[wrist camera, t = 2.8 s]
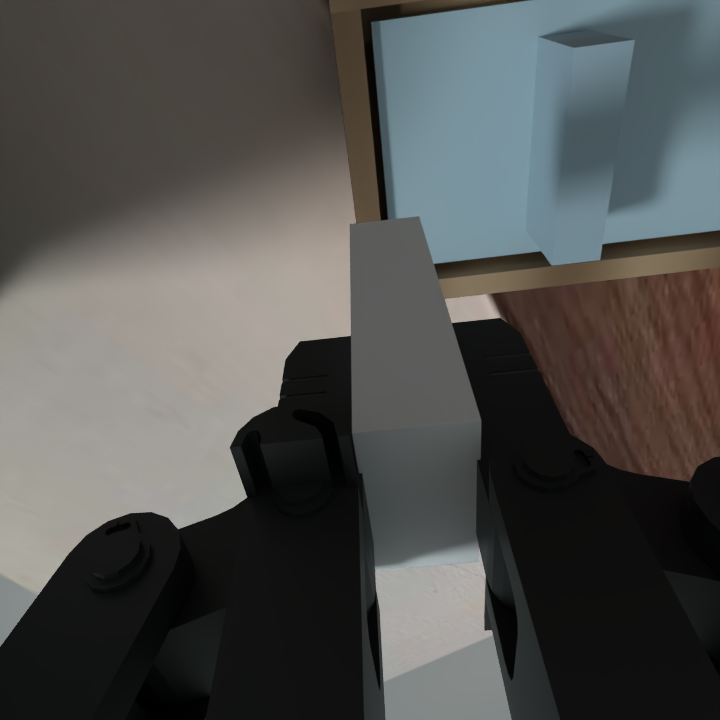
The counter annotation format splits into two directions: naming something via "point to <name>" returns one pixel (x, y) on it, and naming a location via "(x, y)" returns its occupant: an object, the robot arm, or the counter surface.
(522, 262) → the pencil box
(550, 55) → the lid
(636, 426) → the counter surface
